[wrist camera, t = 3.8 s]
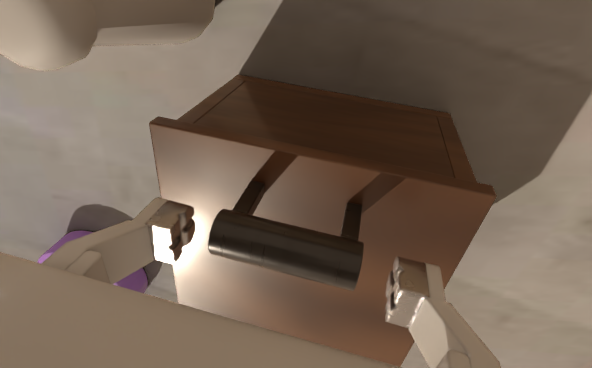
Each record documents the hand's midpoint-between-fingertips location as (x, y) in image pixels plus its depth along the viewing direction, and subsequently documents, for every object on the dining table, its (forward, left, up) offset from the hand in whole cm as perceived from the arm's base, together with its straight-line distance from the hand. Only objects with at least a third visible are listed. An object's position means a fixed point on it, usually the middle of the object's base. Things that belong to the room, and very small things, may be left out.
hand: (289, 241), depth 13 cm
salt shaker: (-7, -11, -14) cm, 19 cm away
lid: (+6, 0, -4) cm, 7 cm away
